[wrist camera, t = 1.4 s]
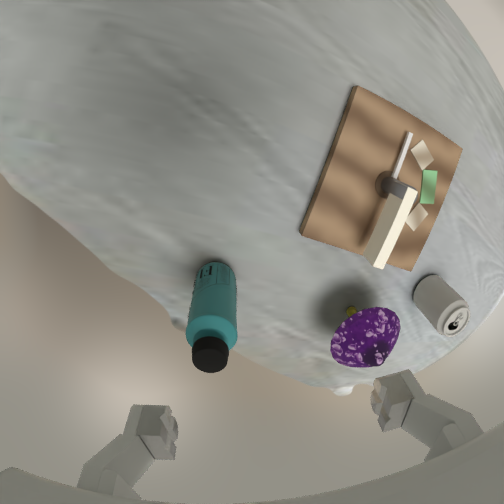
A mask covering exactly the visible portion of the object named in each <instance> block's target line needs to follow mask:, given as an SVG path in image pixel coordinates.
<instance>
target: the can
mask: <svg viewBox="0 0 504 504" xmlns="http://www.w3.org/2000/svg"><path fill="white" fill-rule="evenodd" d="M413 299H414V303H415V304H416V306H417V307H418V308H419V309H420V311H421V312H422V313H423V314H424V315H425V317H426V318H427V319H428V320H429V322H430V323H431V324H432V325H433V326H434V328H435V329H436V330H437V331H438V333H439V334H441V335H445V336H447V337H452V336H455V335H457V334H458V333H460V332H461V331H462V330H463V329H464V328H465V326H466V325H467V323H468V321H469V318H470V310H469V309H468V307H469V306H468V304H467V302H466V301H465V300H464V299H463V298H462V297H461V296H460V295H459V294H458V293H457V292H456V291H455V290H454V289H452V288H451V287H450V286H449V285H448V284H447V283H446V282H445V281H444V280H443V279H442V278H441V277H439V276H438V275H430V276H428V277H426V278H424V279H423V280H422V281H421V282H420V283H419V284H418V285H417V287H416V289H415V292H414V296H413Z"/></svg>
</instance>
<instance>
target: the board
mask: <svg viewBox="0 0 504 504" xmlns="http://www.w3.org/2000/svg"><path fill="white" fill-rule="evenodd" d="M407 132H411V133H413V136H412V139H411V142H410V144H409V147H408V150H407V153H406V155H405V158H404V161H403V164H402V166H401V169H400V171H399V174H398V177H397V179H396V180H399V181H401V182H403V183H406V184H408V185H410V186H412V187H414V188H415V189H416V190H417V192H418V197H417V200H416V202H415V203H414V204H413V205H412V207H411V210H410V212H409V214H408V217H407V219H406V221H405V224H404V226H403V228H402V230H401V232H400V235H399V237H398V239H397V241H396V243H395V245H394V247H393V250H392V252H391V254H390V256H389V258H388V260H387V262H386V263H387V264H390V265H393V266H396V267H399V268H402V269H405V270H408V271H410V272H411V271H412V269H413V267H414V265H415V263H416V261H417V259H418V257H419V255H420V253H421V251H422V249H423V246H424V244H425V242H426V240H427V238H428V236H429V234H430V231H431V229H432V227H433V225H434V222H435V220H436V218H437V216H438V213H439V211H440V209H441V206H442V204H443V201H444V199H445V196H446V194H447V191H448V189H449V186H450V183H451V181H452V178H453V175H454V173H455V170H456V167H457V164H458V161H459V158H460V155H461V152H462V148H461V147H459V146H458V145H457V144H455V143H454V142H452V141H451V140H450V139H448V138H447V137H445V136H444V135H442V134H441V133H439V132H438V131H436V130H435V129H433V128H432V127H430V126H429V125H427V124H426V123H424V122H423V121H421V120H419V119H418V118H416V117H415V116H413V115H411V114H410V113H408V112H406V111H405V110H403V109H401V108H399V107H398V106H396V105H394V104H392V103H391V102H389V101H387V100H385V99H383V98H381V97H380V96H378V95H376V94H374V93H372V92H370V91H368V90H366V89H364V88H362V87H360V86H354V87H353V88H352V91H351V94H350V97H349V100H348V103H347V106H346V108H345V111H344V114H343V117H342V120H341V122H340V125H339V128H338V131H337V133H336V136H335V139H334V142H333V144H332V147H331V150H330V152H329V155H328V158H327V161H326V163H325V166H324V169H323V171H322V174H321V176H320V179H319V182H318V184H317V187H316V189H315V192H314V195H313V197H312V200H311V202H310V205H309V207H308V210H307V213H306V215H305V218H304V220H303V223H302V225H301V228H300V230H299V232H300V234H301V235H302V236H304V237H307V238H310V239H314V240H317V241H320V242H323V243H326V244H329V245H332V246H336V247H339V248H342V249H345V250H348V251H351V252H354V253H357V254H360V255H363V252H364V250H365V248H366V246H367V244H368V242H369V239H370V237H371V235H372V233H373V231H374V228H375V226H376V224H377V222H378V219H379V217H380V215H381V212H382V210H383V208H384V205H385V203H386V200H387V198H388V196H389V195H388V194H387V193H385V192H383V190H382V188H381V183H382V181H383V179H384V178H386V177H391V176H392V173H393V171H394V168H395V165H396V163H397V160H398V157H399V155H400V152H401V149H402V146H403V144H404V141H405V138H406V135H407ZM392 178H393V177H392ZM394 179H395V178H394Z"/></svg>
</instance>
